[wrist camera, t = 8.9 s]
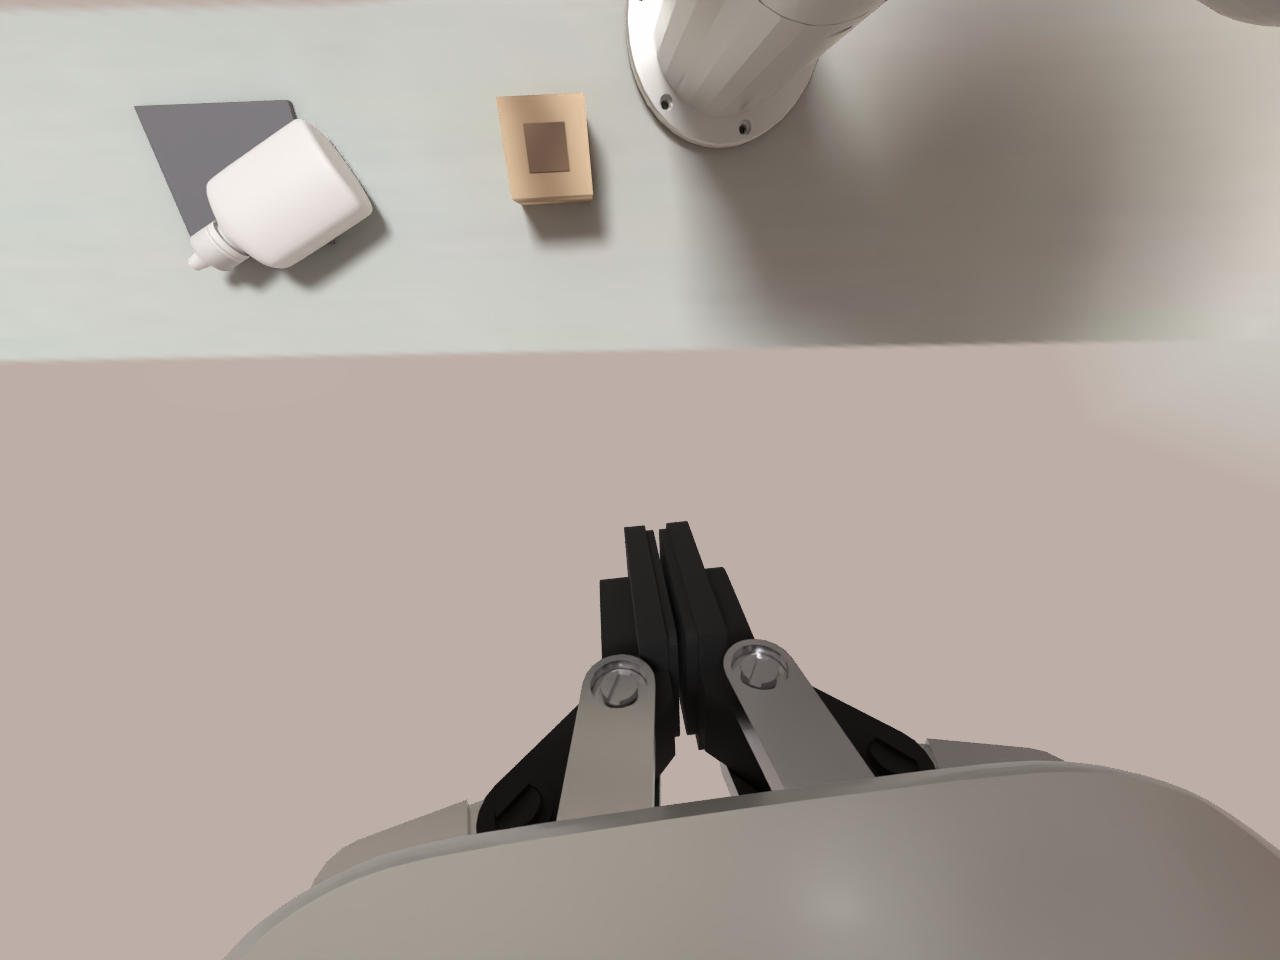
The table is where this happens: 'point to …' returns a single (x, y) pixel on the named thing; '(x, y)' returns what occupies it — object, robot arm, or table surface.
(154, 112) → the mat
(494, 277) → the table surface
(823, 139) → the table surface
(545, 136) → the oak cube
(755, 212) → the table surface
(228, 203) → the eye dropper bottle
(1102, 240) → the table surface
